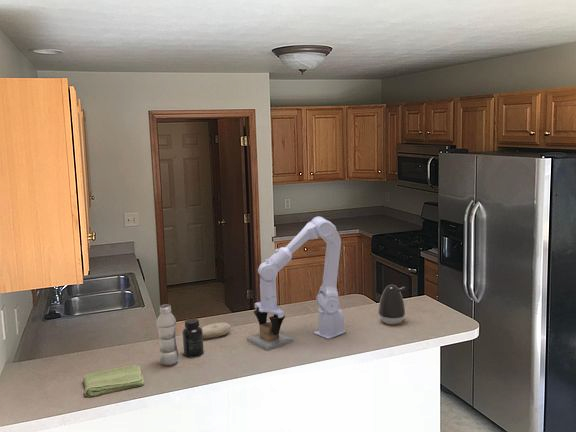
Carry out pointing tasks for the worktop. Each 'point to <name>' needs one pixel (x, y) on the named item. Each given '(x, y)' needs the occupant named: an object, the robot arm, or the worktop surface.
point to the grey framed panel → (272, 344)
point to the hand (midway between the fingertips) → (269, 331)
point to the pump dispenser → (392, 305)
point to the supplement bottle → (192, 338)
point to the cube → (267, 332)
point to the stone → (215, 330)
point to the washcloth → (112, 380)
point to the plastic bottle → (167, 336)
